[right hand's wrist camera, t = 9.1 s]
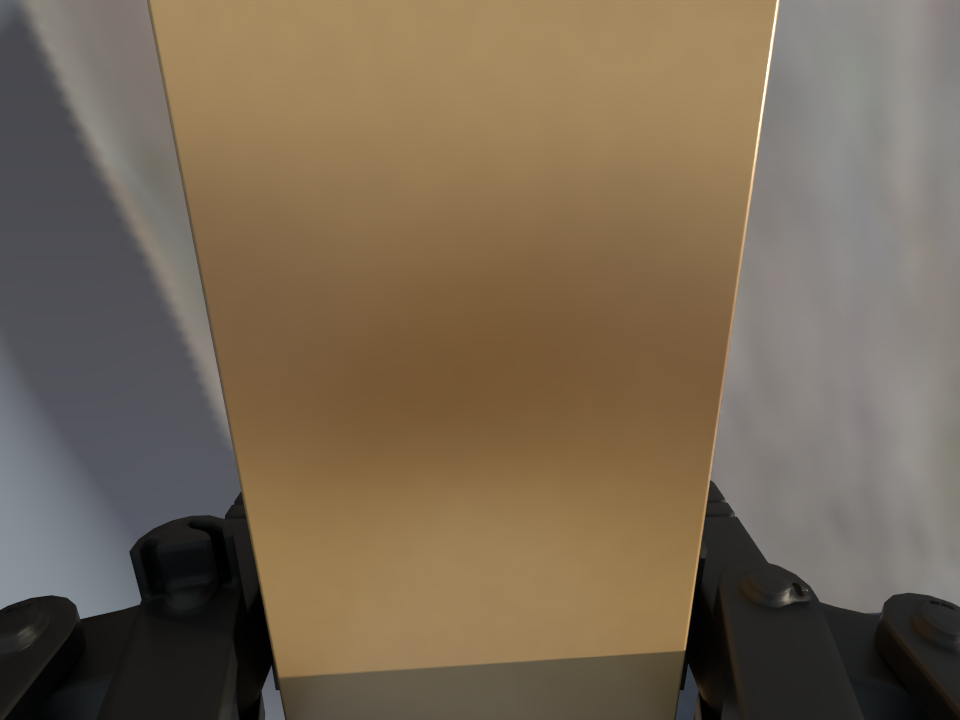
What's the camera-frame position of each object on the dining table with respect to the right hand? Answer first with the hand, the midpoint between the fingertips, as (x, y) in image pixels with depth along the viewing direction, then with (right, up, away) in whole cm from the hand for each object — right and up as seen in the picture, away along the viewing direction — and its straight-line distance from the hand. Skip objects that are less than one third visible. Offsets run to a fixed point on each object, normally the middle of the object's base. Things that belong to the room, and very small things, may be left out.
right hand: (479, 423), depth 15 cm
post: (0, +29, -11) cm, 31 cm away
